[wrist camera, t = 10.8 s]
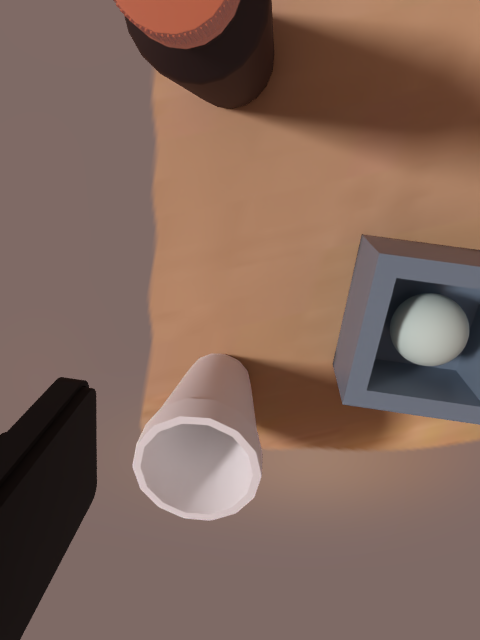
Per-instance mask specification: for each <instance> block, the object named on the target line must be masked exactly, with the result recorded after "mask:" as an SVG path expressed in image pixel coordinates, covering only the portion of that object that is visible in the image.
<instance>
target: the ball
mask: <svg viewBox="0 0 480 640" xmlns="http://www.w3.org/2000/svg"><path fill="white" fill-rule="evenodd" d="M390 336H391V340H392V342H393V345H394V347H395V348H396V350H397V351H398V352H399V353H400V354H401V355H402V356H403V357H404V358H405V359H407V360H408V361H410V362H413V363H415V364H418V365H422V366H438V365H442V364H445V363H447V362H449V361H451V360H453V359H454V358H456V357H457V356H458V355H459V354H460V353H461V352H462V351H463V349H464V348H465V346H466V344H467V341H468V338H469V322H468V319H467V316H466V314H465V312H464V311H463V310H462V308H461V307H460V306H459V305H458V304H457V303H456V302H455V301H453V300H452V299H450V298H448V297H446V296H443V295H440V294H435V293H424V294H418V295H415V296H413V297H410V298H409V299H407V300H405V301H404V302H403V303H402V304H400V305H399V307H398V308H397V309H396V311H395V312H394V314H393V316H392V319H391V323H390Z"/></svg>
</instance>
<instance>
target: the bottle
mask: <svg viewBox="0 0 480 640" xmlns="http://www.w3.org/2000/svg"><path fill="white" fill-rule="evenodd" d="M114 1H115V2H116V3H117V4H116V6H117V7H119V8H120V11H121V12H122V13H123V14H124V16H125V20H126V23H127V27H128V31H129V34H130V35H131V37H132V39H133V41H134V42H135V44H136V46H137V48H138V49H139V51H140V53H141V55H142V56H143V57H144V58H145V59H146V60H147V61H148V62H149V63H150V64H151V65H152V66H153V67H154V68H155V69H156V70H157V71H158V72H159V73H160V74H162V75H164V76H165V77H167V78H169V79H170V80H172V81H174V82H175V83H177V84H179V85H180V86H182V87H184V88H185V89H187V90H189V91H190V92H192V93H193V94H195V95H197V96H198V97H200V98H202V99H203V100H205V101H207V102H209V103H211V104H213V105H215V106H217V107H223V108H236V107H240V106H244V105H246V104H248V103H249V102H251V101H252V100H254V99H255V98H257V97H258V95H259V94H260V93H261V92H262V91H263V89H264V88H265V87H266V85H267V83H268V81H269V78H270V76H271V73H272V70H273V61H274V41H273V21H272V2H271V0H114Z"/></svg>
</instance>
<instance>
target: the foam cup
mask: <svg viewBox="0 0 480 640" xmlns="http://www.w3.org/2000/svg"><path fill="white" fill-rule="evenodd" d="M262 458H263V454H262V449H261V445H260V441H259V436H258V432H257V427H256V420H255V412H254V404H253V397H252V389H251V383H250V379H249V374H248V371H247V370H246V368H245V367H244V366H243V365H242V364H241V362H240V361H239V360H237V359H235V358H233V357H231V356H229V355H227V354H209V355H206V356H204V357H201V358H199V359H198V360H197V361H196V362H195V363H194V364H193V366H192V367H191V368H190V369H189V370H188V372H187V373H186V374H185V376H184V377H183V378H182V380H181V381H180V383H179V384H178V385H177V387H176V388H175V389H174V391H173V392H172V394H171V395H170V396H169V398H168V399H167V400H166V402H165V403H164V405H163V406H162V407H161V408H160V410H159V411H158V412H157V413H156V414H155V415H154V416H153V417H152V418H151V419H150V420H149V422H148V423H147V424H146V425H145V427H144V429H143V431H142V434H141V436H140V438H139V440H138V442H137V445H136V450H135V455H134V460H133V465H132V467H133V470H134V472H135V475H136V478H137V481H138V483H139V486H140V489H141V490H142V491H143V492H144V493H145V494H146V495H147V496H148V497H149V498H150V499H151V500H152V501H153V502H154V503H155V504H156V505H157V506H158V507H160V508H162V509H164V510H166V511H169V512H171V513H173V514H175V515H178V516H180V517H182V518H187V519H199V520H214V519H217V518H221V517H225V516H228V515H232V514H235V513H237V512H238V511H239V510H240V509H241V508H242V507H244V506H245V505H246V504H247V503H248V502H250V501H251V500H252V499H253V498H254V497H255V493H256V491H257V488H258V485H259V482H260V479H261V476H262Z"/></svg>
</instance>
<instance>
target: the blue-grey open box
mask: <svg viewBox="0 0 480 640" xmlns="http://www.w3.org/2000/svg"><path fill="white" fill-rule="evenodd" d="M424 293H435V294H440V295H443V296H446V297H448V298H450V299H452V300H453V301H455V302H456V303H457V304H458V305H459V306H460V307H461V308H462V310H463V311H464V312H465V314H466V316H467V319H468V322H469V338H468V341H467V344H466V346H465V348H464V349H463V351H462V352H461V353H460V354H459V355H458V356H457V357H456V358H454V359H453V360H451V361H449V362H447V363H445V364H442V365H438V366H422V365H418V364H415V363H413V362H410V361H408V360H407V359H405V358H404V357H403V356H402V355H401V354H400V353H399V352H398V351H397V350H396V348H395V347H394V345H393V342H392V340H391V336H390V323H391V319H392V316H393V314H394V312H395V311H396V309H397V308H398V307H399V305H400V304H402V303H403V302H404V301H405V300H407V299H409V298H410V297H413V296H415V295H418V294H424ZM333 368H334V372H335V376H336V380H337V384H338V388H339V392H340V396H341V400H342V404H343V405H350V406H357V407H364V408H370V409H377V410H384V411H391V412H398V413H405V414H411V415H418V416H425V417H432V418H439V419H446V420H452V421H459V422H466V423H473V424H480V250H474V249H466V248H459V247H452V246H444V245H437V244H429V243H422V242H414V241H407V240H399V239H392V238H384V237H377V236H369V235H362V236H361V241H360V245H359V250H358V254H357V258H356V263H355V267H354V272H353V276H352V281H351V285H350V290H349V294H348V298H347V303H346V307H345V312H344V316H343V321H342V325H341V330H340V334H339V339H338V343H337V347H336V352H335V356H334V361H333Z"/></svg>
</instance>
